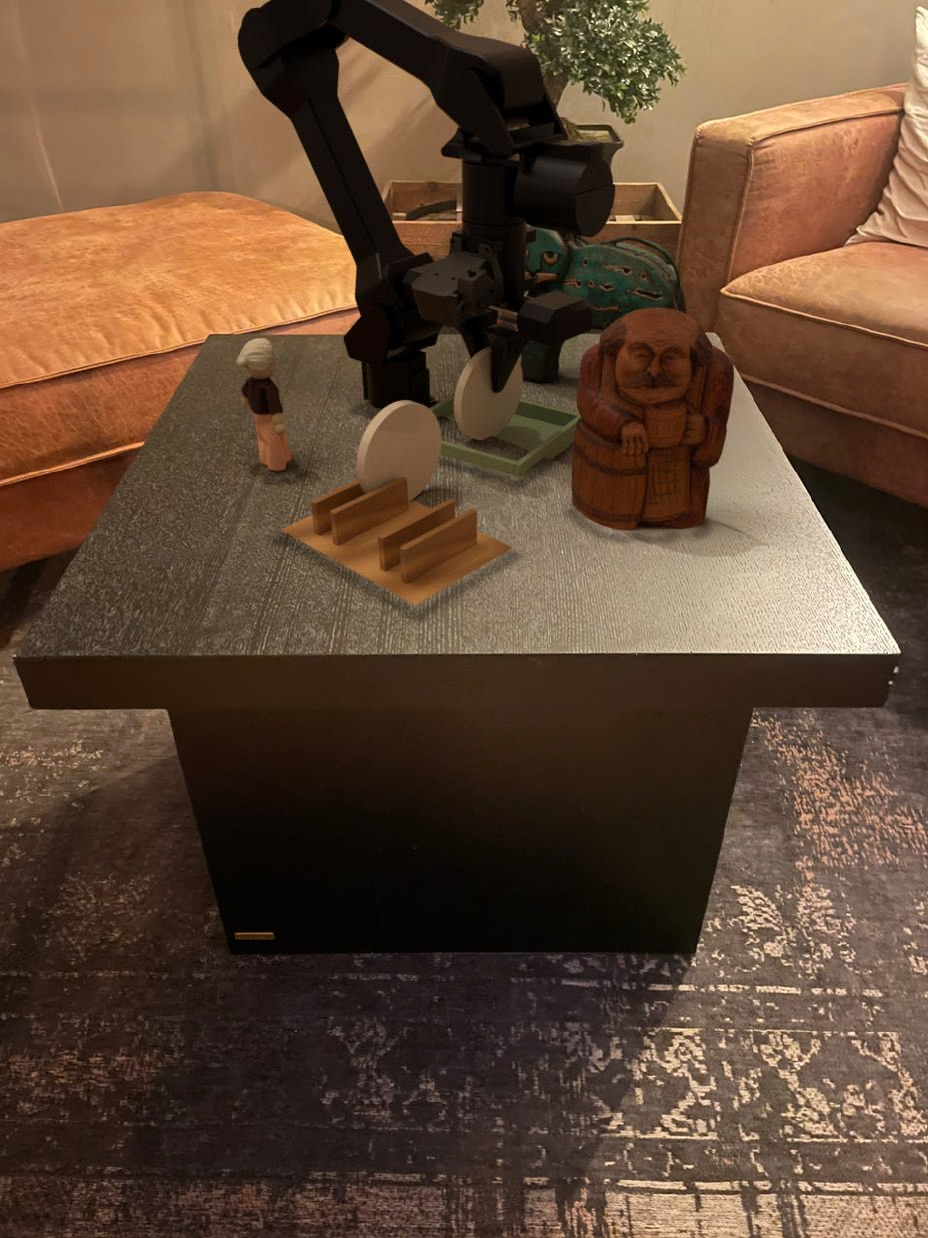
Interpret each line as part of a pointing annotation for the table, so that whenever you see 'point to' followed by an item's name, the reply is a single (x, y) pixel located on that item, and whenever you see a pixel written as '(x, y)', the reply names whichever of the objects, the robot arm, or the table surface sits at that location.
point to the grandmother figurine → (265, 403)
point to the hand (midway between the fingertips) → (491, 389)
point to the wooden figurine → (650, 422)
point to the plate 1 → (399, 447)
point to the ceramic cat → (596, 284)
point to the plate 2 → (485, 398)
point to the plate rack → (397, 538)
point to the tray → (518, 436)
